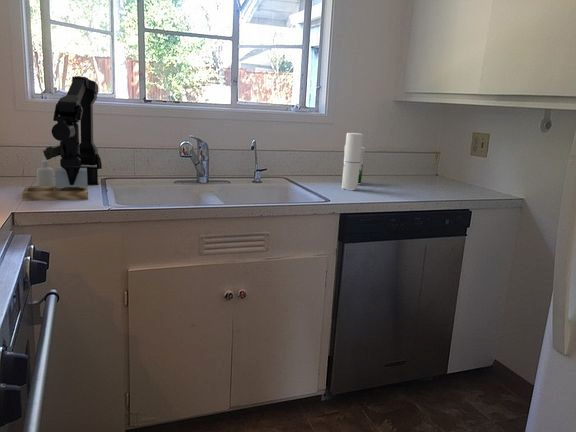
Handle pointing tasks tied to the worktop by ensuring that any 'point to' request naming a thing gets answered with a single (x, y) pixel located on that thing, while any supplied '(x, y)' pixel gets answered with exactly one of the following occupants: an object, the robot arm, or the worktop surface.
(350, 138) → the cylindrical container
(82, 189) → the socket board
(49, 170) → the eye dropper bottle
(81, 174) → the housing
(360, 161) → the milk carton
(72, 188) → the walnut peg
